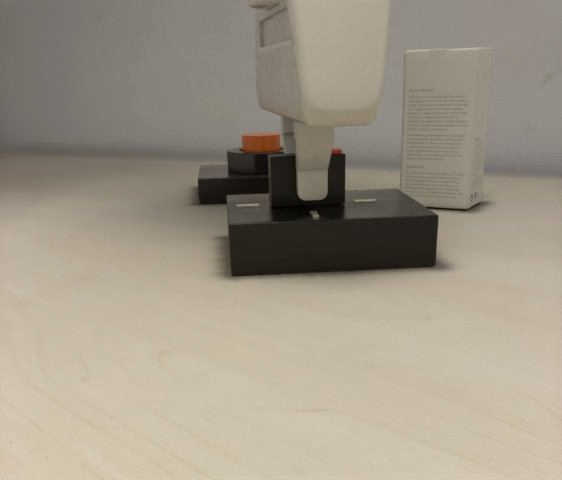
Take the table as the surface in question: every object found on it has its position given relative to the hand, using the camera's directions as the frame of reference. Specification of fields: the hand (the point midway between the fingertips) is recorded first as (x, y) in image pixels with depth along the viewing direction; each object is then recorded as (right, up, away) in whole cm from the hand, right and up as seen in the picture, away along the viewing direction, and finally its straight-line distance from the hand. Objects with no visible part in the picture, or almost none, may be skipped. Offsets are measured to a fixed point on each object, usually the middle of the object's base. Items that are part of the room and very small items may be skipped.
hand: (306, 194), depth 44 cm
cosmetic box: (+12, +3, +16) cm, 20 cm away
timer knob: (0, 0, 0) cm, 1 cm away
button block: (-3, +6, +24) cm, 25 cm away
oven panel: (+1, -3, +2) cm, 4 cm away
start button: (-3, +10, +22) cm, 24 cm away
